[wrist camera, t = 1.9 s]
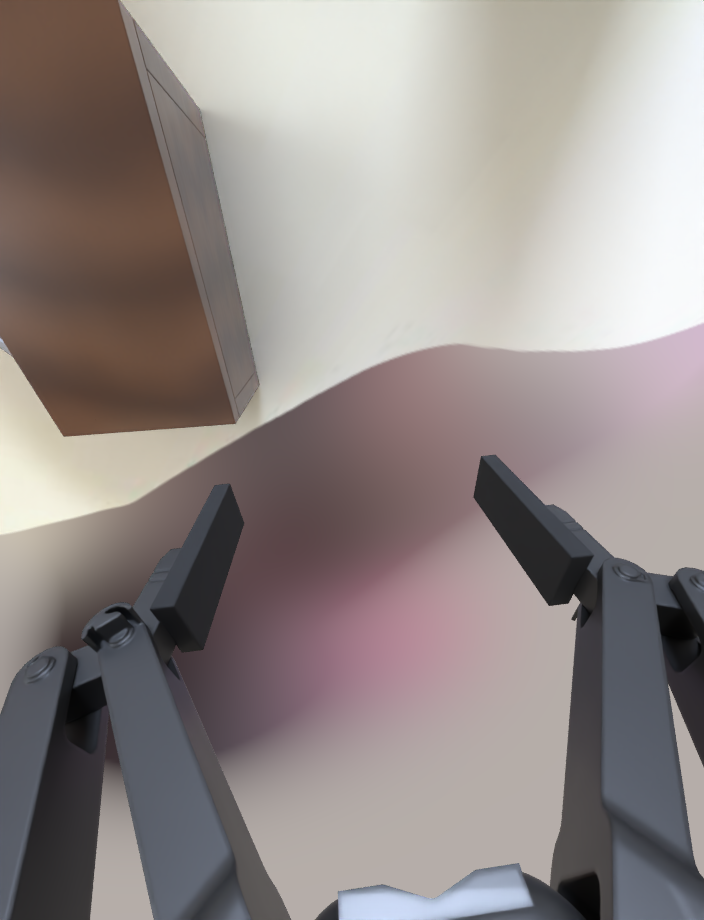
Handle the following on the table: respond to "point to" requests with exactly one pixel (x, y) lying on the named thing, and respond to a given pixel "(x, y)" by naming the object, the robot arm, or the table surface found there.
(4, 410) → the table surface
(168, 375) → the desk riser
